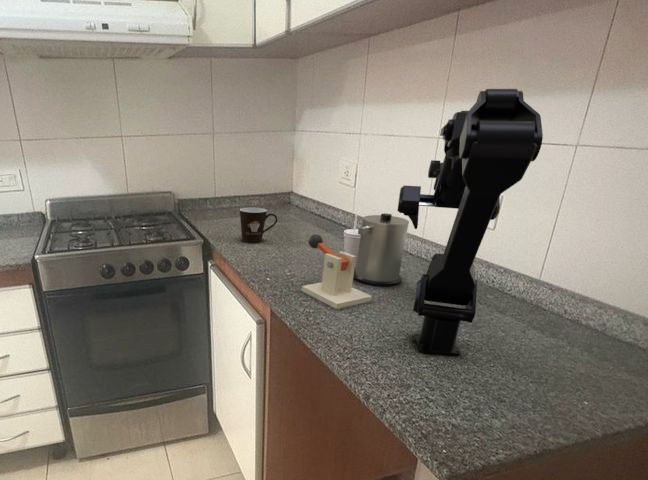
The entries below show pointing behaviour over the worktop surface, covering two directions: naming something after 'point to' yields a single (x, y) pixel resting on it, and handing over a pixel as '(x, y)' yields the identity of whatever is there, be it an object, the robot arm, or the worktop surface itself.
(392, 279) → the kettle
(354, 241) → the smoothie
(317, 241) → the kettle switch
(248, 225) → the coffee mug
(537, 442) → the worktop surface
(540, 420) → the worktop surface
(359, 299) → the knobbed lever stand
